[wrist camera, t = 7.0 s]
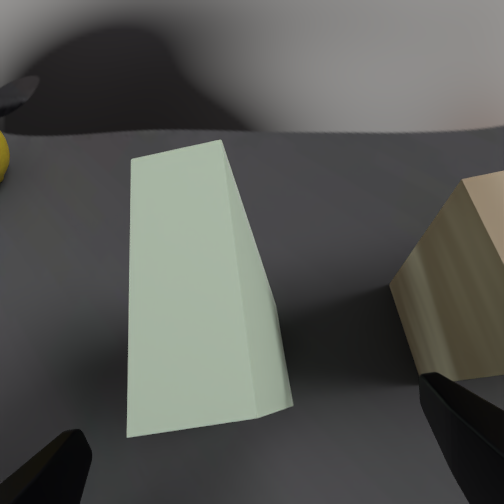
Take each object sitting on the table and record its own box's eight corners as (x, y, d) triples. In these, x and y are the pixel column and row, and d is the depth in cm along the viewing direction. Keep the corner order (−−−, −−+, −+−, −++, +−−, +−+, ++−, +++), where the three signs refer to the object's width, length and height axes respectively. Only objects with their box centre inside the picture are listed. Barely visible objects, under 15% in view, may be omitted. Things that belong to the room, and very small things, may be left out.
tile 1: (421, 278, 17) (525, 166, 9) (459, 379, 15) (638, 354, 7) (389, 284, 17) (461, 179, 9) (422, 385, 15) (554, 367, 7)
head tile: (276, 305, 18) (220, 139, 6) (293, 406, 16) (257, 418, 4) (242, 311, 18) (131, 159, 7) (255, 411, 16) (126, 438, 5)
